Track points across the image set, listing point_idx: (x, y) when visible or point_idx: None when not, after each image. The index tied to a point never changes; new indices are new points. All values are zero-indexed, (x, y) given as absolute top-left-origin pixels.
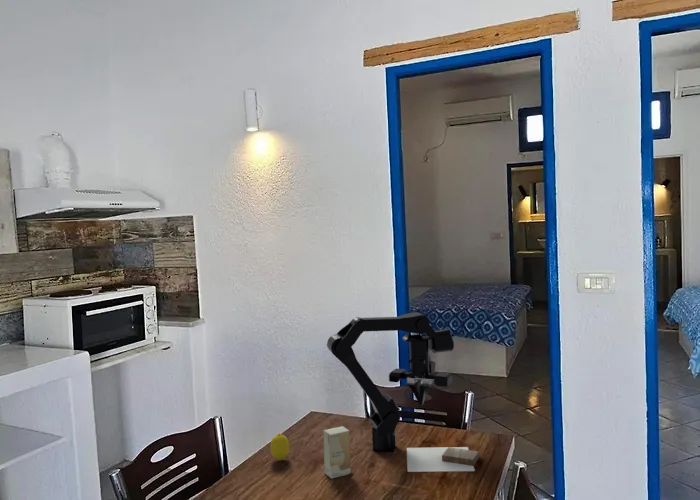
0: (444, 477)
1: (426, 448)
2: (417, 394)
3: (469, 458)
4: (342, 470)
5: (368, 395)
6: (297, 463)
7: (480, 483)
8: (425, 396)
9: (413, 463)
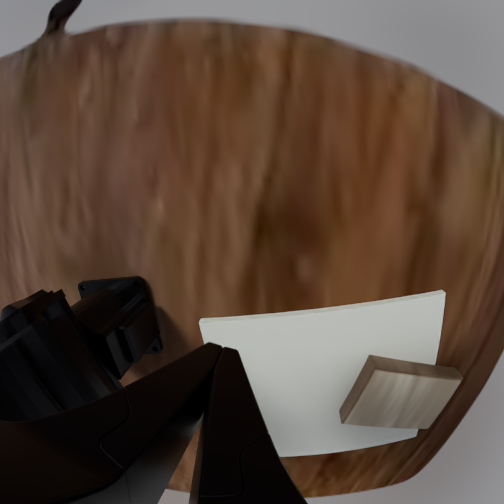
0: (335, 459)
1: (282, 324)
2: (158, 496)
3: (420, 427)
4: None
5: None
6: None
7: (409, 461)
8: (257, 412)
9: None
